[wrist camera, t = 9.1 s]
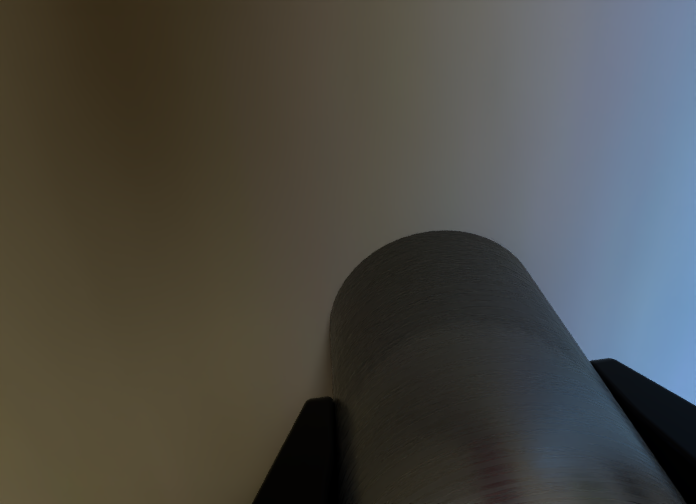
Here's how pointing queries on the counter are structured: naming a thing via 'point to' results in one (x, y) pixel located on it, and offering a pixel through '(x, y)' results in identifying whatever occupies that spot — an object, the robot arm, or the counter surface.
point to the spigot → (472, 388)
